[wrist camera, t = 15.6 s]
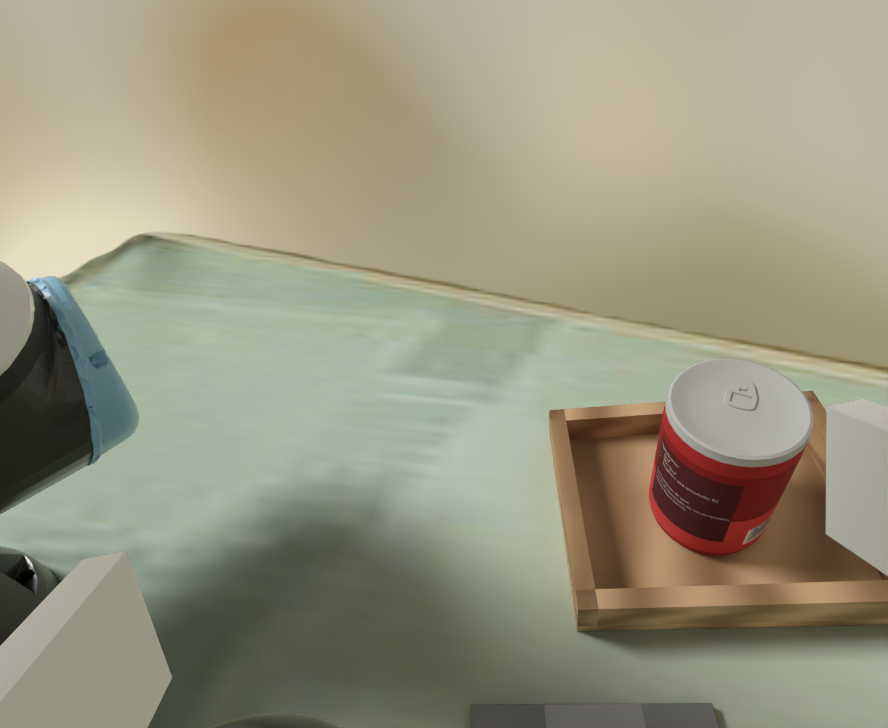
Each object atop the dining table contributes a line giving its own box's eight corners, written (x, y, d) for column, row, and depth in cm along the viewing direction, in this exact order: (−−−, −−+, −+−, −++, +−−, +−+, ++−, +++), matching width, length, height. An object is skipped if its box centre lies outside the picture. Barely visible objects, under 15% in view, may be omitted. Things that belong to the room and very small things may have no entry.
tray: (577, 631, 34) (578, 609, 32) (550, 435, 46) (549, 410, 44) (921, 623, 32) (948, 599, 30) (800, 418, 43) (812, 390, 41)
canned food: (756, 468, 40) (800, 361, 32) (773, 570, 34) (831, 469, 27) (647, 456, 42) (665, 352, 35) (646, 549, 37) (667, 450, 29)
